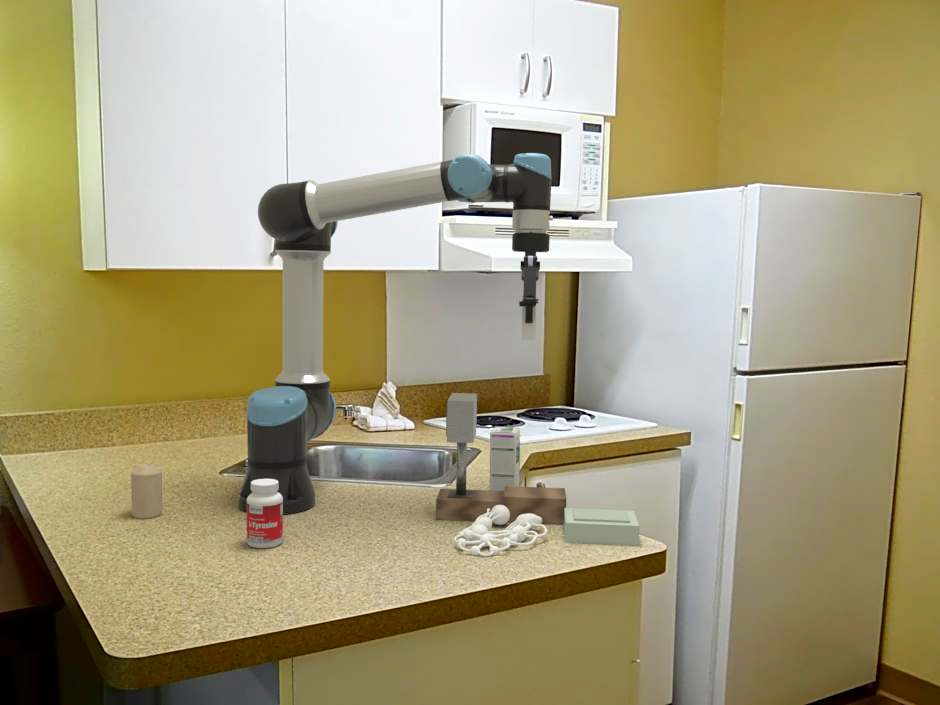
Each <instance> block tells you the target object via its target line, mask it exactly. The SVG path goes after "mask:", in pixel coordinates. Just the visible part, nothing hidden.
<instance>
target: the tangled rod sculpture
mask: <svg viewBox="0 0 940 705" xmlns="http://www.w3.org/2000/svg"><path fill="white" fill-rule="evenodd" d="M489 511H490V509H489V508H488V509H487V513H485V514H483V515H480V516H479V517H478V518H477V519H476V520H475V521H473V522H472V524H471V525H470V526H468V527H466V528H463V530H461V531H459V532H458V534H457V535H455V536H454V538H453V541H454V543H456V546H457V547H458V548H460V550H462V551H464V552H468V553H470V554H471V556H479V555H480V556H482V557H483V556H484V557H491V556H497V555H499V554H500V552H502V551H505V550H508V549H509V548H510V547H511V545H514V546H524V547H525V546H527V547H528V546H531V545H533V543H535V541H536V540H537V539H538V538H541V537H544V536H546V535H547V533H548V529H547V527H546V526H545V525H544V524H541V523H542V518H541V517H539V516H537V515H534V514H531V513H527V514H521V515H519V516H518V517H517V519H516V521H514V522H513V523H512V522H510V524H509V525H508V526H507V527H506V528H505V529H502V530H491V529H492V526H493V524H495V525H497V526H498V525H499V526H503V525H505V524H507V523H509V522H508V520H509V518H510V512H509V510H508V508H507V507H505V506H504V505H496V506H494V507H493V508H492V510H491V512H489ZM488 516H489V517H488ZM490 517H491V519H490ZM492 521H493V522H492ZM535 527H540V528H542V529H543V530H544V532H543V533H541V534H538V533H537V531H534V530H531V529H533V528H535ZM490 530H491V531H490ZM503 537H504V538H503ZM499 538H502V539H499ZM526 538H530V539H532V540H531V541H529V542H523V541H524V540H525V539H526ZM492 543H497V544H501V546H502V547H500V548H499V547H498V546H497V545H493V544H492ZM467 545H473V546H472V547H471V548H465V547H466V546H467ZM483 547H486V548H487V547H489V549H488V550H489V551H488V552H489V553H484V552H481V549H482V548H483Z"/></svg>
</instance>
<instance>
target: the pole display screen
mask: <svg viewBox="0 0 940 705" xmlns="http://www.w3.org/2000/svg"><path fill="white" fill-rule="evenodd" d="M477 405H478V393H472V392H471V393H468V392H465V393H464V392H462V393H461V392H452V393H451V395H449V397H448V398H447V404H446V412H445V414H446V415H445V416H446V417H445V418H446V419H445V420H446V421H445V423H446V424H445V425H446V426H445V437H446V442H447V443H455V444H456V471H455V472H456V475H455V478H456V480H455V489H456V494H457V495H465V494H466V490H467V471H468V470H467V466H468V464H467V463H468V462H467V461H468V459H467V458H468V444H473V443H474V441H475V439H476V436H477V422H478V421H477V419H478V418H477V416H478V415H477V413H478V412H477V410H478V406H477Z"/></svg>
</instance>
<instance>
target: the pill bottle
mask: <svg viewBox="0 0 940 705" xmlns="http://www.w3.org/2000/svg"><path fill="white" fill-rule="evenodd" d="M278 488H279V486H278V481H277V480H275V479H257V480H253V481H252V482H251V491H252V493H251V494H250V495H249V496H248V497H247V512H246V545H247V546H249V547H250V548H254V549H271V548H275V547H278V546H280V545H281V544H282V543H283V541H284V540H283V539H284V538H283V537H284V536H283V535H284V534H283V533H284V514H283V497H282V495H281V494H280V493H278V492H277V490H278Z"/></svg>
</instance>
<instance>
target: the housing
mask: <svg viewBox="0 0 940 705" xmlns="http://www.w3.org/2000/svg"><path fill="white" fill-rule="evenodd" d="M496 505H504V506H505V507H507V508H508V510H509V512H510V518H509V520H508V522H507V523H513V522H514V521H516V519H517V517H518V516H519V515H521V514H527V513H531V514H534V515H537V516H539V517H541V518H542V523H541V524H542V525H544V524H545V525H547V524H548V525H564V508H567V494H566V489H565V487H545V486H544V487H542V486H540V487H538V486H520V487H517V486H505V489H504V491H492V490H490V489H488V490H487V489H466V494H465V495H457V494H456V488H440V489H439V492H438V494H437V496H436V499H435V506H436V507H435V520H438V521H439V520H440V521H460V522H461V521H464V522H465V521H466V522H475V520H476V519H477V518H478V517H479V516H480V515H483V514H485V513H487V509H488V508H489V509H490V511H489V512H491V510H492V508H493V507H494V506H496ZM488 517H489V516H488ZM490 519H491V517H490ZM492 523H494V522H493V521H492Z"/></svg>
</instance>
